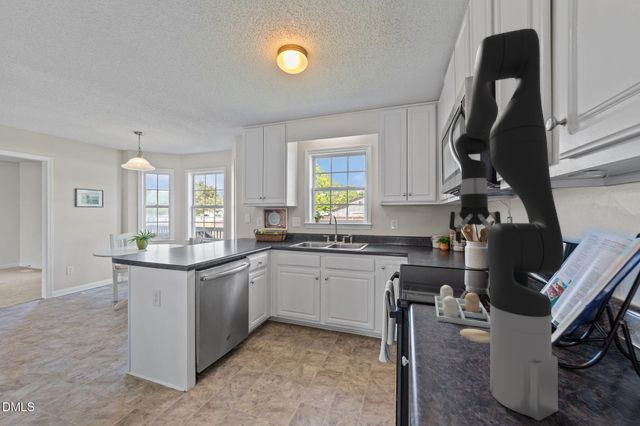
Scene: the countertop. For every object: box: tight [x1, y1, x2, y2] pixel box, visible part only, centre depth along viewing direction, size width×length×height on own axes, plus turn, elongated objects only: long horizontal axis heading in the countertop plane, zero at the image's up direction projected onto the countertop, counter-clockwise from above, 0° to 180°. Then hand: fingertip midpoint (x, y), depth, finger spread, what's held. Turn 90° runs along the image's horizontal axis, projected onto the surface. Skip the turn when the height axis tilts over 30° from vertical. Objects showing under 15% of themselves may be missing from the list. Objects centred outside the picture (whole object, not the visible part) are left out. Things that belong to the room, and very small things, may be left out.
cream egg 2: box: [442, 296, 459, 318], centre depth 88 cm, size 4×4×7 cm
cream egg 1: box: [439, 284, 454, 302], centre depth 102 cm, size 4×4×7 cm
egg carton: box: [434, 295, 490, 329], centre depth 93 cm, size 23×16×2 cm
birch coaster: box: [459, 328, 490, 344], centre depth 75 cm, size 9×9×1 cm
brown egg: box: [464, 292, 480, 313], centre depth 92 cm, size 4×4×7 cm
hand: (474, 243), depth 84 cm, fingers open, 8 cm apart
